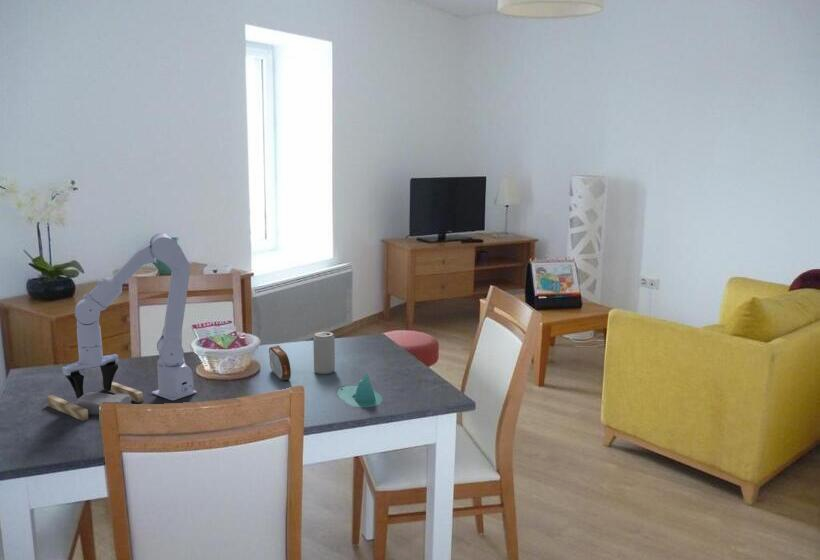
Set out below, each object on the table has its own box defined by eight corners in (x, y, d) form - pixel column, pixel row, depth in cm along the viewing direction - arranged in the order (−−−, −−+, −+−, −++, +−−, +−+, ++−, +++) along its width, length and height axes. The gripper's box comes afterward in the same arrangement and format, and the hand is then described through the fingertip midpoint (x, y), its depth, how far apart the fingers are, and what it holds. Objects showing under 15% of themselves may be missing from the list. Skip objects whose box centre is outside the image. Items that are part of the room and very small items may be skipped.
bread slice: (292, 383, 202) (291, 355, 200) (281, 384, 200) (280, 356, 199) (277, 368, 215) (277, 342, 213) (267, 369, 214) (267, 343, 212)
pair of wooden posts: (143, 401, 186) (142, 392, 186) (82, 420, 173) (81, 411, 172) (107, 387, 196) (106, 379, 196) (47, 405, 182) (46, 396, 182)
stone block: (93, 407, 186) (72, 414, 176) (94, 389, 186) (73, 395, 176) (135, 411, 185) (116, 418, 175) (137, 393, 185) (118, 399, 175)
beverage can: (338, 372, 211) (338, 334, 209) (319, 376, 207) (319, 337, 205) (329, 367, 216) (328, 330, 214) (310, 370, 213) (309, 333, 210)
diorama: (365, 382, 204) (365, 354, 202) (394, 405, 186) (394, 374, 184) (326, 388, 198) (325, 359, 197) (352, 412, 181) (352, 381, 179)
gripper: (107, 336, 190) (110, 383, 192) (54, 348, 178) (59, 398, 181) (122, 340, 186) (125, 389, 188) (69, 353, 174) (73, 404, 177)
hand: (94, 394), depth 184 cm, fingers open, 7 cm apart
